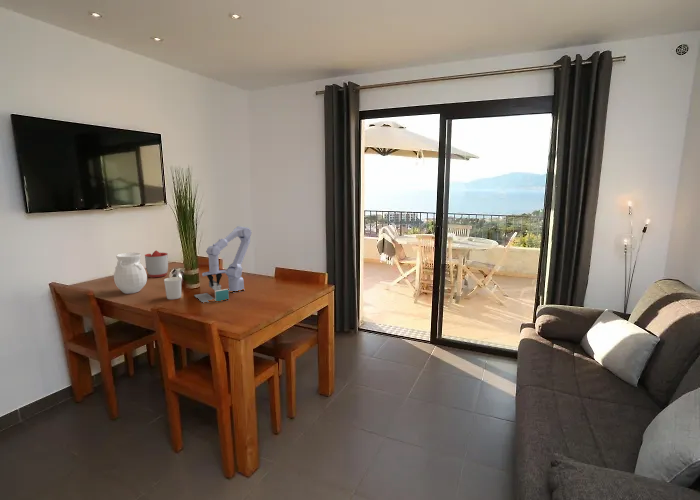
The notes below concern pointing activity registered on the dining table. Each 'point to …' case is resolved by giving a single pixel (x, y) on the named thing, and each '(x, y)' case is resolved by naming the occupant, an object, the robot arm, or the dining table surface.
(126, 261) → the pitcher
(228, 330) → the dining table surface
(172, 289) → the candle holder
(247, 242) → the robot arm
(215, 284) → the two-tone grey bar
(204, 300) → the mat
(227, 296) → the tile
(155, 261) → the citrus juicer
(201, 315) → the dining table surface
